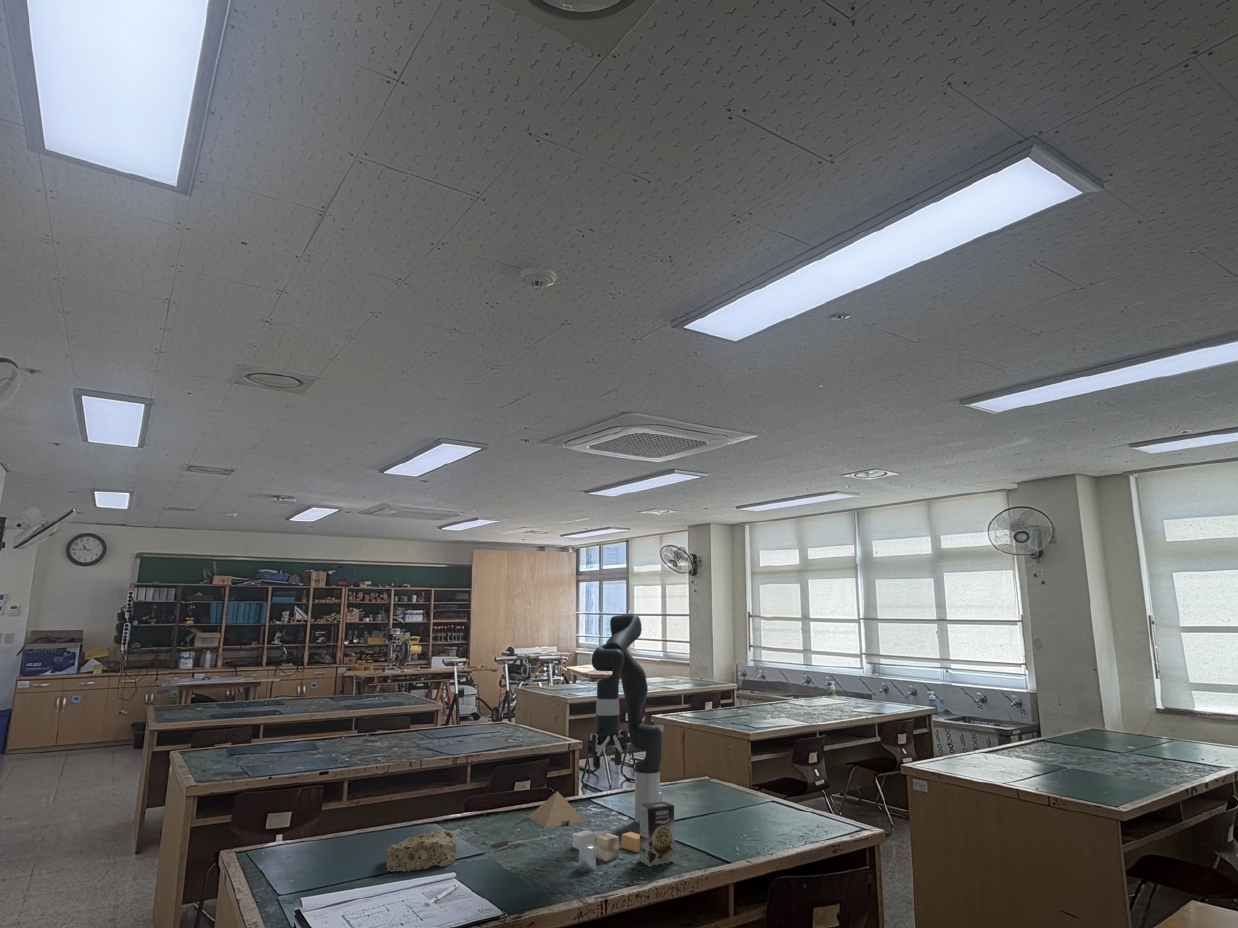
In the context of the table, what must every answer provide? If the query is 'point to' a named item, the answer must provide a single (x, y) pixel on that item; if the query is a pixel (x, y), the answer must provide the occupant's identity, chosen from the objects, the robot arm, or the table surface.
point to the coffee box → (656, 833)
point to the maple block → (607, 846)
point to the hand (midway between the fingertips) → (607, 766)
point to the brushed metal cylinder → (587, 857)
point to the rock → (422, 851)
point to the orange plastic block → (631, 841)
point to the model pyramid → (556, 812)
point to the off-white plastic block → (583, 838)
